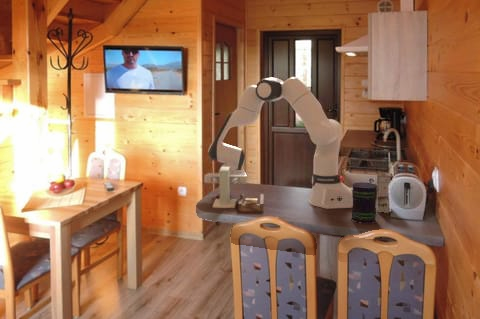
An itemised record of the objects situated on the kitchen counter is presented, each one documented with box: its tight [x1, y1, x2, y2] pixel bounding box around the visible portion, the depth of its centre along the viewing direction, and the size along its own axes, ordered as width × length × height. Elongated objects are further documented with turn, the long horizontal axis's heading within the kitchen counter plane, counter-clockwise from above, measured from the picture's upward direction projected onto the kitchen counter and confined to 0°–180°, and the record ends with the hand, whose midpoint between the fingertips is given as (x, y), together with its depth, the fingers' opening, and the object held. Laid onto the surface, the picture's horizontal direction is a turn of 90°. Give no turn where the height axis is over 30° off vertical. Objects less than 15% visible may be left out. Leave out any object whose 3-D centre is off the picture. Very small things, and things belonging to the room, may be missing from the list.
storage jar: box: [351, 182, 377, 224], centre depth 203 cm, size 10×10×15 cm
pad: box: [212, 198, 237, 209], centre depth 230 cm, size 10×13×1 cm
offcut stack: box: [243, 197, 258, 204], centre depth 220 cm, size 6×4×5 cm, turn 87°
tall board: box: [218, 166, 231, 205], centre depth 228 cm, size 4×10×16 cm, turn 177°
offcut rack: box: [237, 193, 265, 213], centre depth 226 cm, size 11×18×4 cm, turn 177°
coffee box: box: [376, 172, 394, 214], centre depth 218 cm, size 9×6×16 cm
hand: (224, 181), depth 227 cm, fingers open, 7 cm apart
